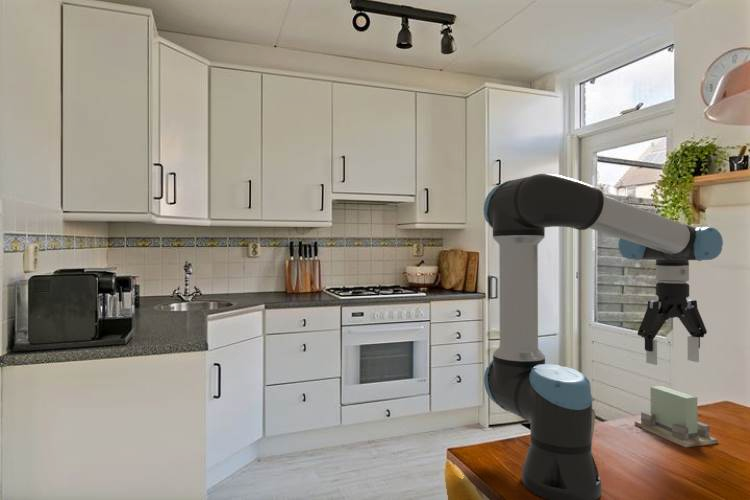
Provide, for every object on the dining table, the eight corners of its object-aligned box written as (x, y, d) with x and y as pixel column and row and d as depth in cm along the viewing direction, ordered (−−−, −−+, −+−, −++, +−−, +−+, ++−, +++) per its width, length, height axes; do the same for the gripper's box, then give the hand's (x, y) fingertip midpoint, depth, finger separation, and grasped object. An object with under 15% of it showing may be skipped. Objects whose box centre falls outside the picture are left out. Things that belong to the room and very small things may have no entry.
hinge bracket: (685, 447, 117) (685, 431, 117) (634, 424, 132) (634, 410, 132) (717, 443, 119) (717, 427, 119) (663, 421, 135) (663, 407, 135)
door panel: (686, 438, 120) (686, 398, 120) (650, 423, 131) (650, 386, 131) (697, 436, 121) (697, 397, 121) (661, 422, 132) (661, 385, 132)
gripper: (645, 283, 120) (645, 368, 119) (722, 282, 126) (723, 362, 126) (622, 281, 127) (622, 361, 126) (696, 280, 133) (697, 357, 133)
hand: (672, 362), depth 126 cm, fingers open, 13 cm apart
